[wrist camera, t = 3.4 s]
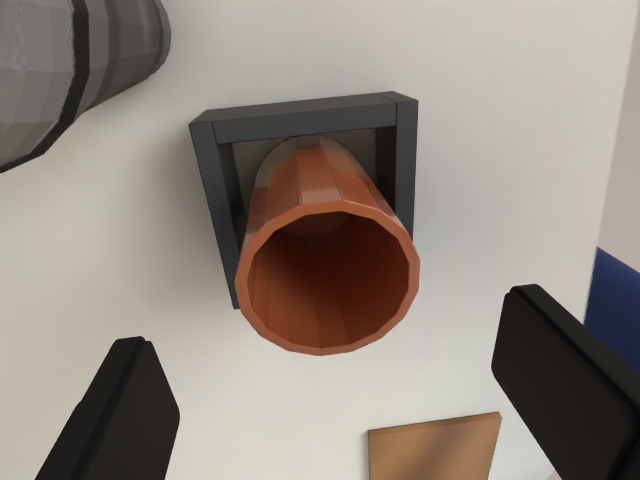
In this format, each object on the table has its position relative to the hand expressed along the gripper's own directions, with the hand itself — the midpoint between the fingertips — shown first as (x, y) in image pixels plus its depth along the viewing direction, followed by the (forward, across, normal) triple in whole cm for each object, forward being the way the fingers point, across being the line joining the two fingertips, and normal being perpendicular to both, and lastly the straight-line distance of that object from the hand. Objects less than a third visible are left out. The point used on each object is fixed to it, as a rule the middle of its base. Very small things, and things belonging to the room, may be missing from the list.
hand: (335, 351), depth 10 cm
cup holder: (+13, 0, 0) cm, 13 cm away
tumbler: (+13, 0, 0) cm, 13 cm away
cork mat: (+13, -9, +29) cm, 33 cm away
